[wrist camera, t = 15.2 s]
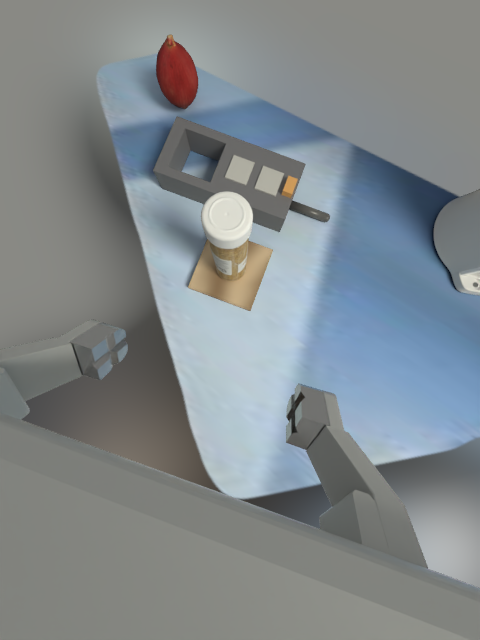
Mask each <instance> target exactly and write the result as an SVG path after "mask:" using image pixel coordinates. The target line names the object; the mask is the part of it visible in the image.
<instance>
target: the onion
mask: <svg viewBox="0 0 480 640" xmlns="http://www.w3.org/2000/svg"><path fill="white" fill-rule="evenodd" d="M156 75H157V79H158V83H159V85H160V88H161V90H162V92H163V94H164V96H165V97H166V98H167V99H168V100H169V101H170V102H171V103H172V104H173V105H175V106H177V107H181V108H183V109H186V108H187V107H188V106H189V105H191V103H192V102H193V100H194V99H195V97H196V93H197V89H198V76H197V72H196V68H195V65H194V62H193V60H192V58H191V56H190V55H189V53H188V52H187V51H186V50H185V48H184V47H183V46H182V45H180V44H179V43H177V42H175V41H174V39H173V36H172V35H168V36H167V39H166V40H165V42H164V43H163V45H162V47H161V48H160V50H159V52H158V55H157V64H156Z"/></svg>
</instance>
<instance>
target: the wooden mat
mask: <svg viewBox="0 0 480 640" xmlns="http://www.w3.org/2000/svg"><path fill="white" fill-rule="evenodd" d="M272 251H273V250H272V249H269V248H266V247H264V246H261V245H258V244H256V243H253V242H250V241H248V251H247V261H246V271H245V274H244V275H243V276H242V277H241V278H240V279H239V280H237V281H231V282H230V281H226V280H224V279H222V278H221V277H220V276H219V274H218V272H217V269H216V265H215V261H214V258H213V255H212V252H211V249H210V244H209V240H208V239H207V241H206V244H205V246H204V249H203V251H202V254H201V256H200V259H199V261H198V264H197V266H196V269H195V271H194V274H193V276H192V279H191V281H190V283H189V286H188V288H190V289H192V290H195V291H198V292H200V293H203V294H206V295H208V296H211V297H214V298H216V299H219V300H222V301H224V302H227V303H230V304H232V305H235V306H238V307H240V308H243V309H246V310H248V311H250V310H251V308H252V305H253V302H254V300H255V297H256V294H257V292H258V289H259V286H260V284H261V281H262V278H263V276H264V273H265V270H266V267H267V265H268V262H269V259H270V257H271V254H272Z"/></svg>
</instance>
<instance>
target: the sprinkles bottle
mask: <svg viewBox="0 0 480 640" xmlns="http://www.w3.org/2000/svg"><path fill="white" fill-rule="evenodd" d="M201 221H202V226H203V229H204V233H205V235H206V237H207V239H208V240H209V244H210V249H211V252H212V255H213V258H214V261H215V265H216V269H217V272H218V274H219V276H220V277H221V278H222V279H224V280H226V281H230V282H231V281H237V280H239V279H240V278H241V277H242V276H243V275H244V274H245V271H246V261H247V251H248V238H249V236H250V234H251V230H252V223H253V213H252V209H251V206H250V204H249V203H248V201H247V200H246V199H245V198H244V197H242V196H241V195H239V194H237V193H234V192H229V191H226V192H219V193H216V194H214V195H213V196H211V197H210V198H209V199H208V200H207V201H206V202H205V204H204V206H203V208H202V212H201Z"/></svg>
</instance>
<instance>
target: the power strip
mask: <svg viewBox="0 0 480 640" xmlns="http://www.w3.org/2000/svg"><path fill="white" fill-rule="evenodd" d="M190 150H191V151H193V152H196V153H199V154H202V155H204V156H207V157H210V158H212V159H215V160H218V161H219V162H218V165H217V167H216V170H215V172H214V175H213V177H212V180H211V182H208V181H205V180H202V179H200V178H197V177H194V176H191V175H189V174H186V173H183V172H181V171H182V169H183V167H184V164H185V162H186V160H187V157H188V155H189V153H190ZM304 167H305V164H304V163H302V162H299V161H296V160H294V159H291V158H288V157H286V156H283V155H280V154H277V153H275V152H272V151H269V150H267V149H264V148H261V147H258V146H256V145H253V144H250V143H248V142H245V141H242V140H239V139H237V138H234V137H231V136H229V135H226V134H223V133H221V132H218V131H215V130H212V129H210V128H207V127H204V126H202V125H199V124H196V123H193V122H191V121H188V120H185V119H183V118H180V117H176V119H175V122H174V124H173V126H172V128H171V131H170V133H169V135H168V138H167V140H166V142H165V144H164V147H163V149H162V151H161V153H160V156H159V158H158V160H157V163H156V165H155V167H154V169H153V171H154V173H155V175H156V177H157V179H158V181H159V183H160V185H161V187H162V189H165V190H168V191H170V192H173V193H176V194H178V195H181V196H184V197H186V198H189V199H192V200H195V201H197V202H200V203H203V204H205V202H206V201H207V200H208V199H209V198H210V197H211V196H213V195H214V194H216V193H219V192H226V191H229V192H234V193H237V194H239V195H241V196H242V197H244V198H245V199H246V200H247V201H248V203H249V204H250V206H251V209H252V213H253V222H254V223H256V224H259V225H262V226H264V227H267V228H270V229H273V230H275V231H278V232H280V230H281V228H282V225H283V223H284V221H285V218H286V215H287V213H288V210H289V209H291V210H293V211H296V212H299V213H302V214H304V215H307V216H310V217H312V218H315V219H318V220H320V221H323V222H327V221H328V220H329V219H330V215H329V214H327V213H325V212H322V211H319V210H317V209H314V208H311V207H308V206H306V205H303V204H300V203H298V202H295V201H292V199H293V197H294V194H295V191H296V189H297V186H298V183H299V180H300V178H301V175H302V172H303V170H304Z"/></svg>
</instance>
